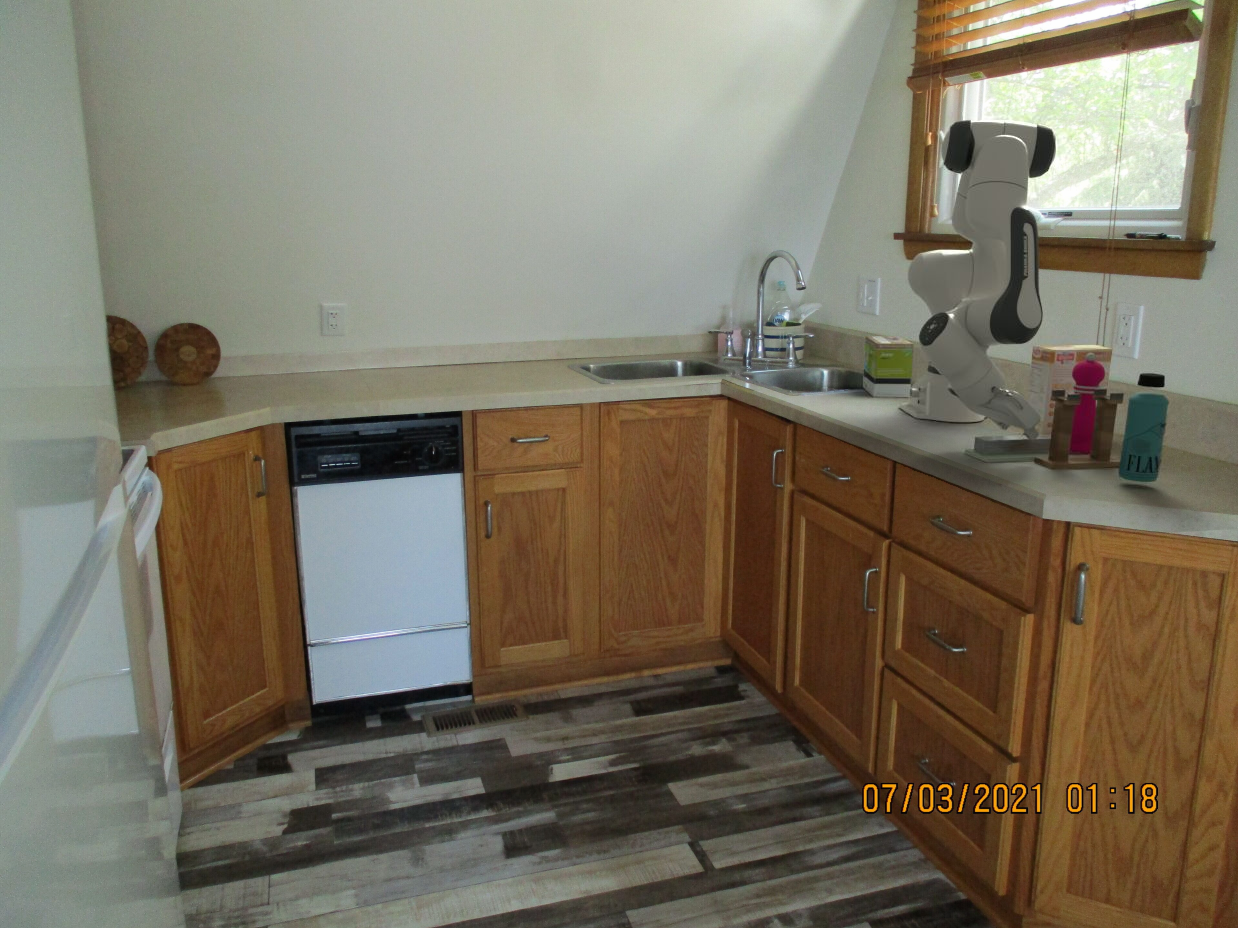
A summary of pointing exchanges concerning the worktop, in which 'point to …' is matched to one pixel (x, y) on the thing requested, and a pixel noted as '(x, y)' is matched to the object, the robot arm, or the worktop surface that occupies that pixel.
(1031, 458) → the mat
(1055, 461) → the stand
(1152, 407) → the beverage bottle
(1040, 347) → the coffeecake box
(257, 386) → the worktop surface
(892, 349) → the tea box
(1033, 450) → the rail
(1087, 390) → the pepper mill
